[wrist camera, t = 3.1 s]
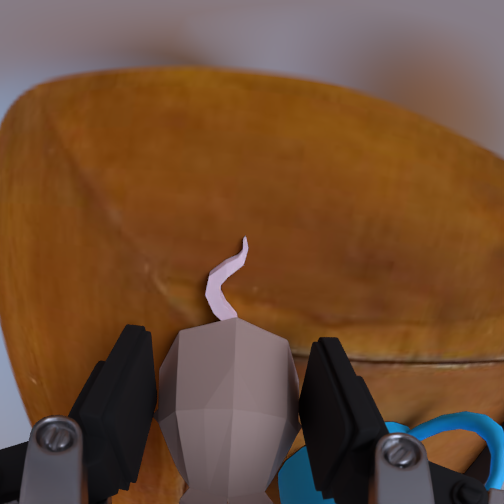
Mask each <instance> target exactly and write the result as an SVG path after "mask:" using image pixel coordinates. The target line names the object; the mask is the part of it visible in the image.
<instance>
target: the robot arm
mask: <svg viewBox="0 0 504 504" xmlns="http://www.w3.org/2000/svg"><path fill="white" fill-rule="evenodd" d="M156 403H157V389H156V380H155V371H154V361H153V350H152V338H151V332H149V331H146V330H145V327H144V326H137V325H129V324H127V325H126V326H125V328H124V330H123V331H122V333H121V335H120V337H119V338H118V340H117V342H116V344H115V345H114V347H113V349H112V351H111V353H110V354H109V356H108V358H107V360H106V361H99V362H98V363H97V364H96V366H95V367H94V369H93V371H92V373H91V374H90V376H89V378H88V380H87V382H86V383H85V385H84V387H83V389H82V391H81V392H80V394H79V396H78V398H77V400H76V402H75V403H74V405H73V407H72V409H71V411H70V413H69V415H68V417H67V416H63V415H51V416H47V417H44V418H42V419H41V420H39V421H38V422H37V423H36V424H35V425H34V426H33V428H32V431H31V433H30V438H29V441H27V442H24V443H21V444H18V445H15V446H11V447H8V448H5V449H1V450H0V504H112V496H113V495H115V494H118V491H119V489H122V490H127V491H128V490H129V485H130V482H132V483H136V481H137V477H138V473H139V469H140V465H141V461H142V457H143V453H144V449H145V445H146V441H147V437H148V433H149V430H150V426H151V422H152V418H153V415H154V411H155V407H156ZM299 416H300V421H301V426H302V430H303V435H304V439H305V444H306V449H307V453H308V458H309V463H310V467H311V472H312V477H313V481H314V486H315V489H316V491H321V492H322V497H323V500H324V499H332V498H334V501H335V503H336V504H504V490H500V489H495V488H490V489H489V490H488V491H487V490H486V488H485V486H484V485H483V484H482V483H481V482H480V481H478V480H476V479H474V478H472V477H469V476H466V475H464V474H461V473H458V472H455V471H453V470H450V469H448V468H445V467H442V466H440V465H437V464H435V463H432V462H430V461H428V458H427V453H426V450H425V447H424V445H423V444H422V443H421V441H420V440H418V439H417V438H416V437H414V436H412V435H410V434H407V433H401V432H395V433H389V431H388V429H387V427H386V424H385V422H384V420H383V418H382V416H381V414H380V412H379V410H378V408H377V406H376V404H375V402H374V400H373V398H372V396H371V394H370V392H369V390H368V388H367V386H366V384H365V382H364V380H363V378H362V377H361V376H356V374H355V372H354V370H353V368H352V365H351V363H350V361H349V359H348V357H347V355H346V353H345V351H344V349H343V347H342V345H341V343H340V341H339V339H338V338H336V337H320V338H319V340H318V342H313V344H312V347H311V352H310V356H309V361H308V365H307V369H306V374H305V378H304V382H303V386H302V390H301V394H300V398H299Z"/></svg>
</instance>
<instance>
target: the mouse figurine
mask: <svg viewBox="0 0 504 504" xmlns="http://www.w3.org/2000/svg"><path fill="white" fill-rule="evenodd" d="M247 252H248V243H247V240H246V236H245V237H244V238H243V249H242V250H241V251H240V253H239V254H238V255H235V256H233V257H231V258H228V259H226V260H225V261H224V262H222V263H221V264H219V265H218V266H217V267H215V268H214V269H213V270H211V271H210V274H209V279H208V284H207V288H206V293H205V296H206V298H207V300H208V302H209V305H210V307H211V309H212V311H213V313H214V314H215V315H216V316H217V317H218V318H219V319H220V320H221V321H218V322H214V323H210V324H206V325H202V326H198V327H194V328H189V329H185V330H181V331H179V333H178V335H177V337H176V339H175V341H174V342H173V344H172V346H171V348H170V350H169V352H168V354H167V356H166V358H165V360H164V361H163V363H162V365H161V367H160V369H159V408H158V409H157V411H156V412H155V413H154V415H153V417H154V418H155V420H156V421H157V422H158V423H159V426H160V428H161V431H162V433H163V436H164V438H165V441H166V443H167V446H168V448H169V451H170V453H171V456H172V458H173V460H174V463H175V465H176V467H177V469H178V472H179V473H180V474H181V476H182V477H183V479H184V480H185V481H186V483H187V484H188V486H189V487H190V488H189V489H188V490H187V491H186V493H185V494H184V495H183V496H182V497H181V498H180V502H179V504H227V500H228V504H273V502H272V501H271V500H270V498H269V497H268V496H267V494H266V493H265V490H266V489H267V487H268V486H269V484H270V483H271V481H272V480H273V478H274V476H275V475H276V473H277V471H278V469H279V468H280V466H281V464H282V462H283V460H284V458H285V457H286V455H287V453H288V451H289V449H290V447H291V445H292V444H293V442H294V440H295V438H296V436H297V434H298V432H299V431H300V429H301V428H302V426H301V424H300V423H299V422H298V413H299V379H298V376H297V372H296V368H295V365H294V361H293V357H292V354H291V350H290V347H289V343H288V340H286V339H284V338H281V337H279V336H277V335H275V334H272V333H270V332H268V331H266V330H263V329H261V328H259V327H257V326H255V325H252V324H250V323H248V322H246V321H244V320H242V319H239V318H237V312H236V311H235V310H234V309H233V308H232V307H231V305H230V304H229V303H228V302H227V301H226V300H225V297H224V295H223V293H222V291H221V285H222V283H223V282H224V281H225V280H226V278H228V277H229V276H230V275H231V274H233V273H234V272H235V271H237V270H238V269H239V268H241V267H242V266H243V265H244V262H245V259H246V255H247Z"/></svg>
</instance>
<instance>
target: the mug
mask: <svg viewBox="0 0 504 504" xmlns="http://www.w3.org/2000/svg"><path fill="white" fill-rule="evenodd" d="M385 424H386V427H387V429H388V431H389V433H395V432H401V433H407V434H410V435H412V436H414V437H416V438H417V439H418V440H420V441H422V440H423V439H425V438H427V437H430V436H433V435H435V434H438V433H440V432H443V431H448V430H455V429H464V430H469V431H473V432H476V433H477V434H478V435H480V436H481V437H482V438H483V439H484V440H485V441H486V442H487V445H488V448H489V451H490V453H491V464H490V474H489V477H488V480H487V482H486V484H485V488H486V490H487V491H488V490H489V489H490V488H495V489H501V487H502V485H503V482H504V431H503V429H502V427H501V426H500V425H499V424H497V423H496V422H495V421H493V420H492V419H491V418H490V417H488V416H487V415H484V414H478V413H472V412H467V411H464V412H459V413H453V414H446V415H441V416H439V417H437V418H434V419H432V420H429V421H427V422H425V423H422V424H420V425H418V426H416V427H415V428H413V429H412V430H410V429H409V427H408V426H405V425H402V424H399V423H395V422H385ZM278 485H279V493H280V501H281V504H336V503H335V501H334V498H332V499H324V500H323V497H322V492H321V491H316V489H315V486H314V481H313V477H312V472H311V467H310V463H309V458H308V453H307V449H306V446H305V447H303V448H301V449H300V450H299V451H298V452H296V453H295V454H294V455H293V456H291V457H290V458H289V459H288V460H286V462H285V463H284V465H283V466H282V468H281V469H280V471H279V473H278Z"/></svg>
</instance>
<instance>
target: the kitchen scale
mask: <svg viewBox="0 0 504 504" xmlns="http://www.w3.org/2000/svg"><path fill="white" fill-rule="evenodd" d="M501 427H502V429H503V431H504V422H503V424H502V425H501ZM490 464H491V453H490V451H489V448H488V445H487V446H486V447H485V449H484V450H483V451H482V453H481V454H480V455H479V457H478V458H477V459H476V460H475V462H474V463H473V464H472V465H471V466H470V468H469V469H468V470H467V471H466V472H465V474H464V475H466V476H469V477H472V478H474V479H476V480H478V481H480V482H481V483H482V484H483V485H484V486H485V484H486V482H487V480H488V477H489V474H490ZM500 490H504V482H503V485H502V487H501V489H500Z"/></svg>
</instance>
